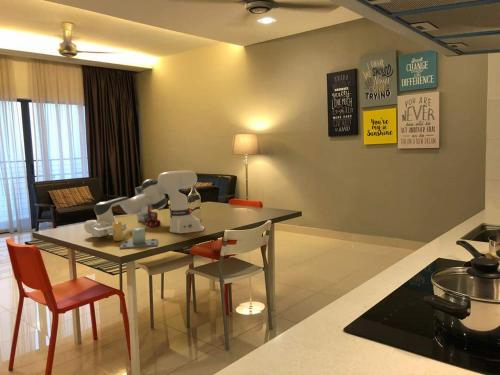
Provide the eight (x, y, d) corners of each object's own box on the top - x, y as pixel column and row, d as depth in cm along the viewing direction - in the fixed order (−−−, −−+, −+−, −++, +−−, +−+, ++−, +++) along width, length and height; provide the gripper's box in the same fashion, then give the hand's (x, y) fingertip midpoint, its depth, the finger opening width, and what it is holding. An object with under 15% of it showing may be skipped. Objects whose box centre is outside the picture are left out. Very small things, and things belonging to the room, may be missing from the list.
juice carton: (135, 222, 301) (133, 185, 298) (142, 219, 311) (140, 184, 308) (146, 222, 299) (144, 185, 296) (153, 219, 309) (151, 183, 306)
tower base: (157, 240, 241) (156, 225, 240) (157, 246, 227) (156, 230, 226) (122, 243, 237) (121, 228, 236) (119, 249, 223) (118, 233, 222)
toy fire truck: (153, 224, 291) (153, 209, 290) (162, 226, 281) (161, 211, 280) (144, 225, 286) (143, 211, 285) (152, 228, 277) (151, 213, 276)
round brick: (123, 238, 245) (122, 220, 244) (122, 240, 240) (121, 222, 238) (114, 238, 244) (112, 221, 243) (113, 241, 238) (111, 223, 237)
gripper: (118, 230, 257) (133, 232, 249) (89, 237, 240) (104, 239, 233) (117, 220, 256) (132, 222, 249) (88, 226, 239) (103, 228, 232)
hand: (118, 230), depth 241 cm, fingers closed on round brick, 5 cm apart
